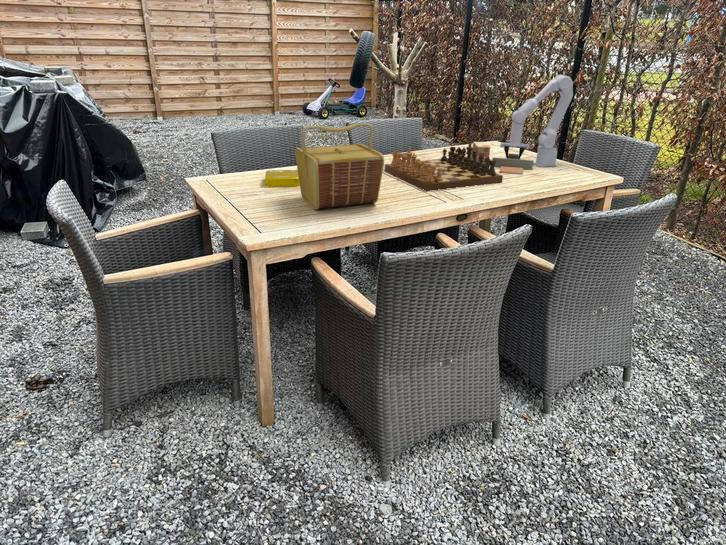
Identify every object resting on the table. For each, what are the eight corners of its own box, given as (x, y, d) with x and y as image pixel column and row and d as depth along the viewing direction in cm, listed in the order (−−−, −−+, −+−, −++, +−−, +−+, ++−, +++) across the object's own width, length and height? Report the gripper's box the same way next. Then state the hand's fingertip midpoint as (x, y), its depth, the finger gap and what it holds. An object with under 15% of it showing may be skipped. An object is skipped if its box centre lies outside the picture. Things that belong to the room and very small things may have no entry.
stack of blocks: (467, 161, 273) (469, 138, 268) (479, 161, 273) (481, 138, 268) (475, 171, 254) (477, 146, 249) (487, 171, 254) (490, 146, 249)
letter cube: (517, 163, 270) (518, 154, 268) (516, 165, 266) (518, 155, 263) (507, 163, 271) (508, 153, 269) (507, 165, 267) (508, 155, 265)
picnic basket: (314, 215, 189) (311, 132, 176) (294, 196, 210) (290, 121, 197) (385, 207, 199) (388, 128, 187) (359, 189, 221) (360, 117, 208)
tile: (522, 169, 258) (523, 167, 258) (522, 174, 249) (522, 173, 248) (500, 167, 261) (500, 166, 261) (499, 172, 252) (499, 171, 251)
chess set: (426, 192, 220) (428, 158, 214) (384, 171, 253) (385, 141, 247) (501, 183, 235) (506, 151, 229) (453, 164, 268) (455, 135, 262)
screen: (532, 169, 259) (533, 160, 257) (532, 169, 258) (533, 161, 256) (491, 166, 264) (492, 157, 262) (491, 166, 263) (492, 157, 261)
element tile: (265, 188, 222) (264, 177, 220) (266, 179, 236) (265, 169, 234) (300, 187, 224) (299, 176, 222) (299, 178, 238) (298, 168, 236)
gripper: (501, 135, 260) (497, 162, 266) (530, 137, 257) (526, 164, 263) (501, 133, 267) (498, 159, 272) (530, 135, 263) (526, 161, 269)
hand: (512, 161), depth 268 cm, fingers closed on letter cube, 5 cm apart
